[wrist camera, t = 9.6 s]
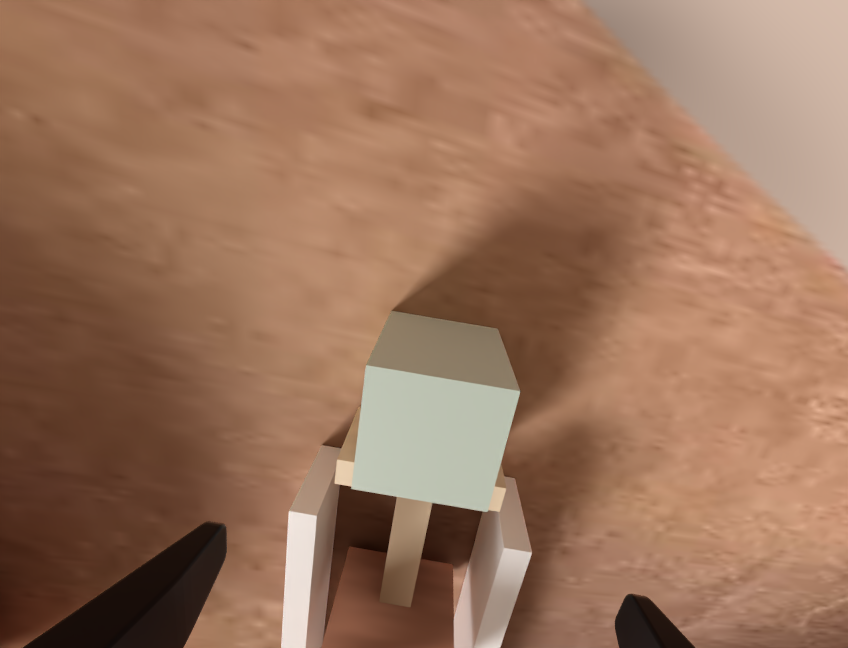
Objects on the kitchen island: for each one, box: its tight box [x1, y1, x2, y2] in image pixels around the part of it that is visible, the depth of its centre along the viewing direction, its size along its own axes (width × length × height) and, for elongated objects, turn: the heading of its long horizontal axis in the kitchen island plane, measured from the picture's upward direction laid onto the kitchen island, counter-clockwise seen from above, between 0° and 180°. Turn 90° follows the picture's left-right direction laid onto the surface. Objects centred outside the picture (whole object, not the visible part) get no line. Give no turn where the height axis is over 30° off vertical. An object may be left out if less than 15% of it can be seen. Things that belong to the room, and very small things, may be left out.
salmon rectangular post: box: [321, 407, 506, 648], centre depth 17 cm, size 7×11×9 cm, turn 171°
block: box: [351, 311, 520, 512], centre depth 16 cm, size 5×5×6 cm
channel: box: [281, 445, 532, 648], centre depth 21 cm, size 10×17×4 cm, turn 171°
